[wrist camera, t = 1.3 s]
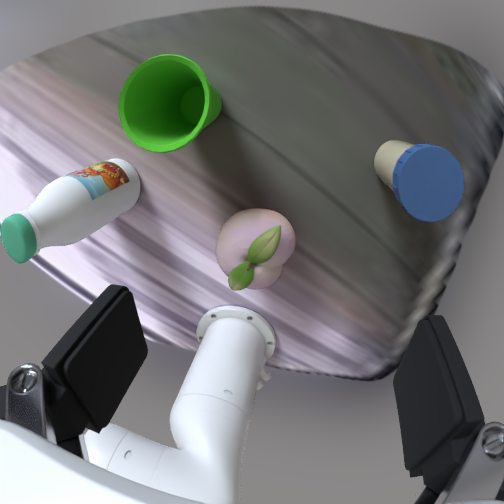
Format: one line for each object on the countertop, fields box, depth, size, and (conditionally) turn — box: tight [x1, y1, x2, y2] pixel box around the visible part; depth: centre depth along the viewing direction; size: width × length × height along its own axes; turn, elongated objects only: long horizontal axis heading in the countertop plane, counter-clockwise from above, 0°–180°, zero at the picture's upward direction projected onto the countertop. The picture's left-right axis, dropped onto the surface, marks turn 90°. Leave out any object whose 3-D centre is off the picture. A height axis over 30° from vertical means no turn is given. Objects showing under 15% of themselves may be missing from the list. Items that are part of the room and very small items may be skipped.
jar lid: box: [392, 143, 464, 222], centre depth 22 cm, size 7×7×2 cm
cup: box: [119, 54, 222, 153], centre depth 27 cm, size 9×9×11 cm
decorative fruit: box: [216, 209, 296, 290], centre depth 33 cm, size 9×8×10 cm
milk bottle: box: [1, 159, 141, 263], centre depth 29 cm, size 8×8×20 cm
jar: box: [374, 140, 415, 192], centre depth 26 cm, size 6×6×11 cm
